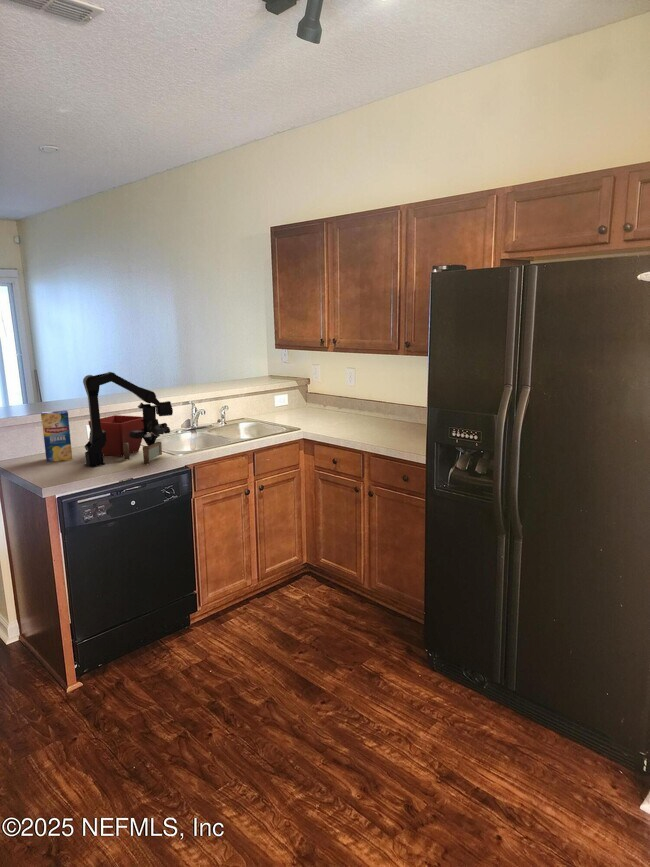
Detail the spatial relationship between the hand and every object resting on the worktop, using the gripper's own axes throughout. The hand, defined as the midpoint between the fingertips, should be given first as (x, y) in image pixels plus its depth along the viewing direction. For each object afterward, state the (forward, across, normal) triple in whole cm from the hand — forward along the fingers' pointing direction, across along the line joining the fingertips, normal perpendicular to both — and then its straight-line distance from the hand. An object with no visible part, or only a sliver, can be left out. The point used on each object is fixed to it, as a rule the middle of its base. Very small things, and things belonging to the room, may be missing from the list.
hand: (151, 450), depth 265 cm
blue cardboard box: (+4, -28, +32) cm, 42 cm away
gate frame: (+4, -8, -1) cm, 9 cm away
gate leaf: (+2, -2, -5) cm, 6 cm away
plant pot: (+4, -4, +20) cm, 21 cm away
